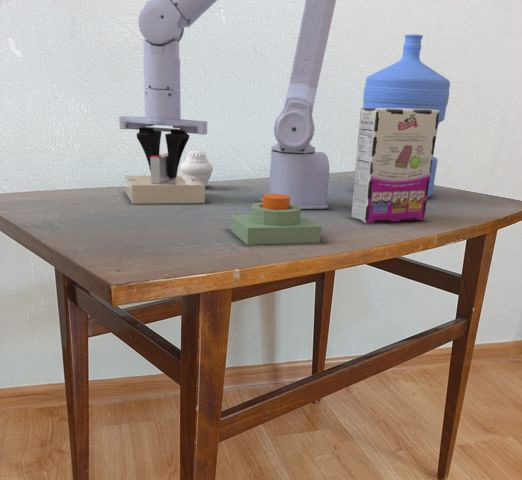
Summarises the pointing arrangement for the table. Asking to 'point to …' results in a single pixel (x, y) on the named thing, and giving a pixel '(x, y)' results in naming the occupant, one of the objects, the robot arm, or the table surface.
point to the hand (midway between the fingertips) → (164, 177)
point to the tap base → (164, 190)
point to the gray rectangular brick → (159, 168)
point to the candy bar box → (393, 164)
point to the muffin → (197, 166)
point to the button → (276, 201)
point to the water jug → (409, 88)
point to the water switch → (275, 226)
